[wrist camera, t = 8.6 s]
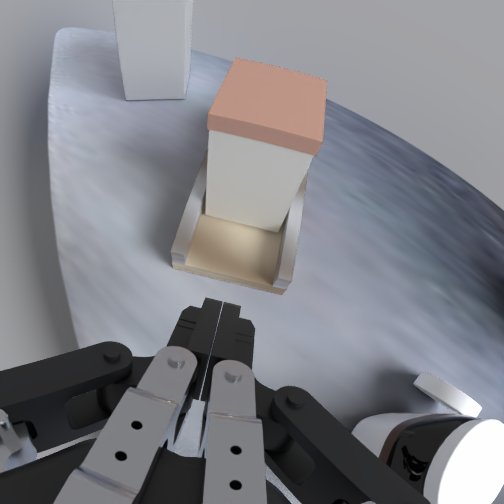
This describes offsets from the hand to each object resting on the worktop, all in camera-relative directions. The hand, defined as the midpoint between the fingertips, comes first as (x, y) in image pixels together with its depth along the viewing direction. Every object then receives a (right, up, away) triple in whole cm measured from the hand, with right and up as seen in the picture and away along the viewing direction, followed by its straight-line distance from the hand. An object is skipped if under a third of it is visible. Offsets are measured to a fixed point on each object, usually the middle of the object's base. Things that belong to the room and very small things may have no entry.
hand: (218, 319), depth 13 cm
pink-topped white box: (+1, +8, +14) cm, 16 cm away
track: (+1, +8, +16) cm, 17 cm away
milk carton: (-10, +23, +21) cm, 33 cm away
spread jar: (+14, -13, +9) cm, 21 cm away
